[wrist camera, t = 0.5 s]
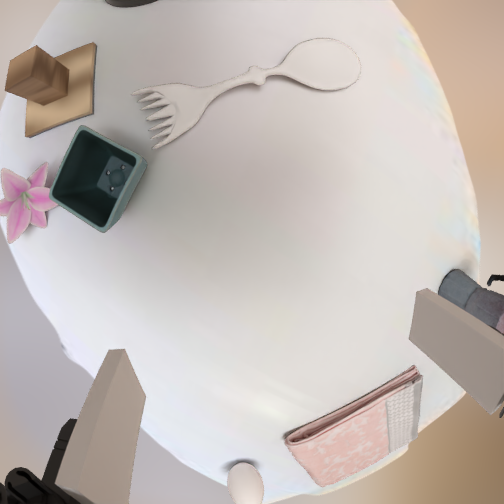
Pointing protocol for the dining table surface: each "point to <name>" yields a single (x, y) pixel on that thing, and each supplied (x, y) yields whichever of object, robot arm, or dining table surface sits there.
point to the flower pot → (96, 179)
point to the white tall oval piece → (245, 484)
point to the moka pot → (475, 298)
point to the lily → (24, 201)
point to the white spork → (294, 66)
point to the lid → (52, 86)
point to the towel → (360, 431)
